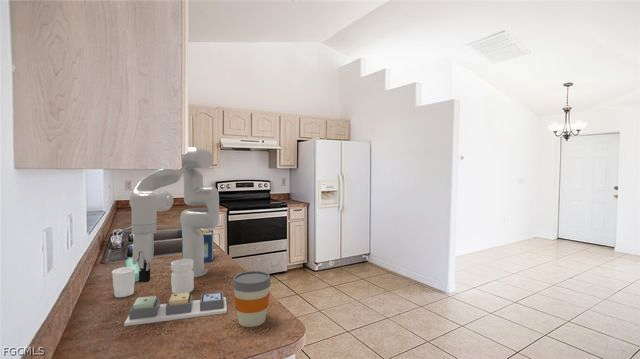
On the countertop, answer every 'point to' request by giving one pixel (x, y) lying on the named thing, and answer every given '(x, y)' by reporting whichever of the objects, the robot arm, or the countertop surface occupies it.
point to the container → (129, 264)
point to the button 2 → (179, 299)
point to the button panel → (176, 310)
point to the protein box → (206, 245)
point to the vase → (182, 276)
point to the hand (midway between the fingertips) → (144, 281)
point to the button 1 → (145, 302)
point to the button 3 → (212, 297)
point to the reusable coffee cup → (251, 297)
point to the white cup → (123, 281)
